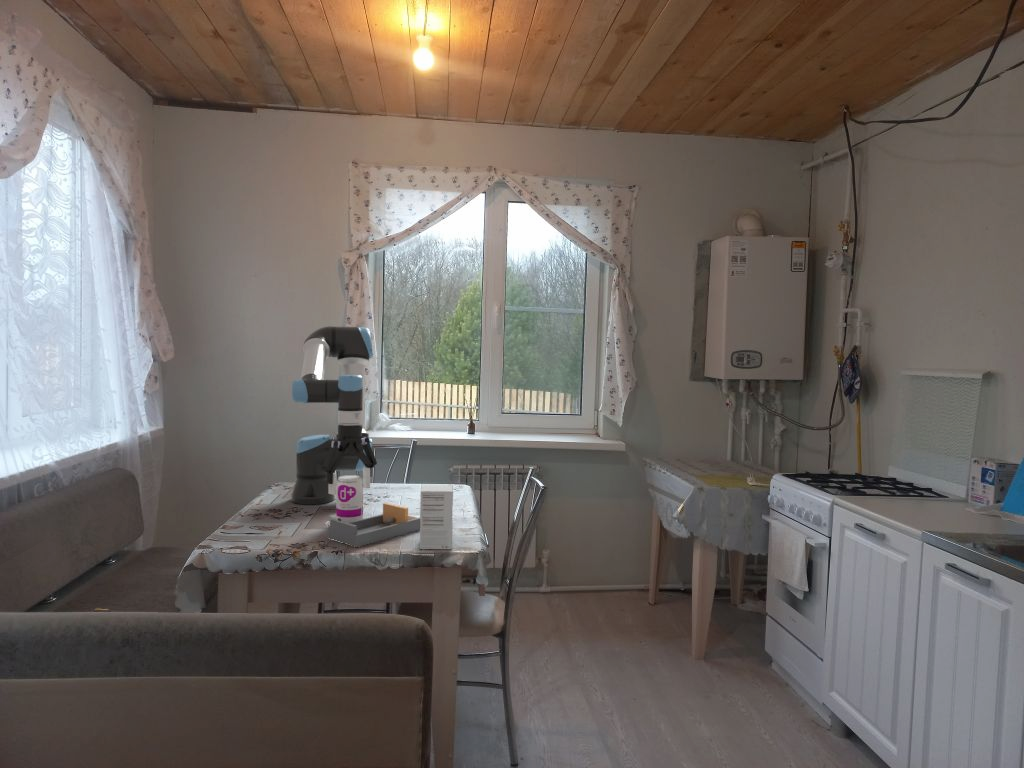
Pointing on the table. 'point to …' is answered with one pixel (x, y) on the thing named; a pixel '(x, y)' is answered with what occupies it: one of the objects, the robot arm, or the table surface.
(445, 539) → the supplement box
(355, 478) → the supplement can
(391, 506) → the pusher
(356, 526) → the pusher lane
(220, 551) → the table surface
